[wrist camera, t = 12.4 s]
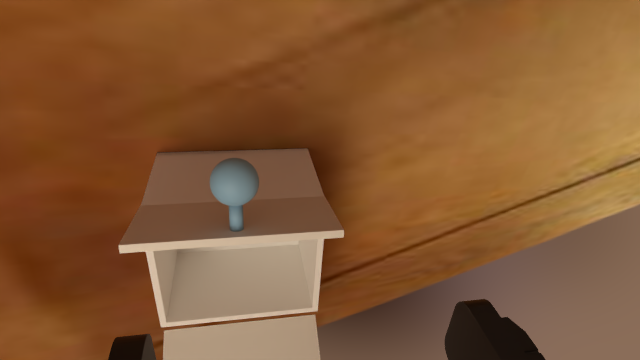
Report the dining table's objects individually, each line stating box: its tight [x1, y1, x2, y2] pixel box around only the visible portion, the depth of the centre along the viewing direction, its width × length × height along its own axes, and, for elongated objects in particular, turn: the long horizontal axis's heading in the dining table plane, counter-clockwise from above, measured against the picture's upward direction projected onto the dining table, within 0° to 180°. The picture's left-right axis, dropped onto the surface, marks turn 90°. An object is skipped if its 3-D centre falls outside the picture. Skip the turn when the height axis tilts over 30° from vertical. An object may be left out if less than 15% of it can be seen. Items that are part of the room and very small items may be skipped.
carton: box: [141, 148, 324, 327], centre depth 44 cm, size 16×14×11 cm
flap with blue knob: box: [119, 158, 344, 253], centre depth 31 cm, size 15×7×6 cm
